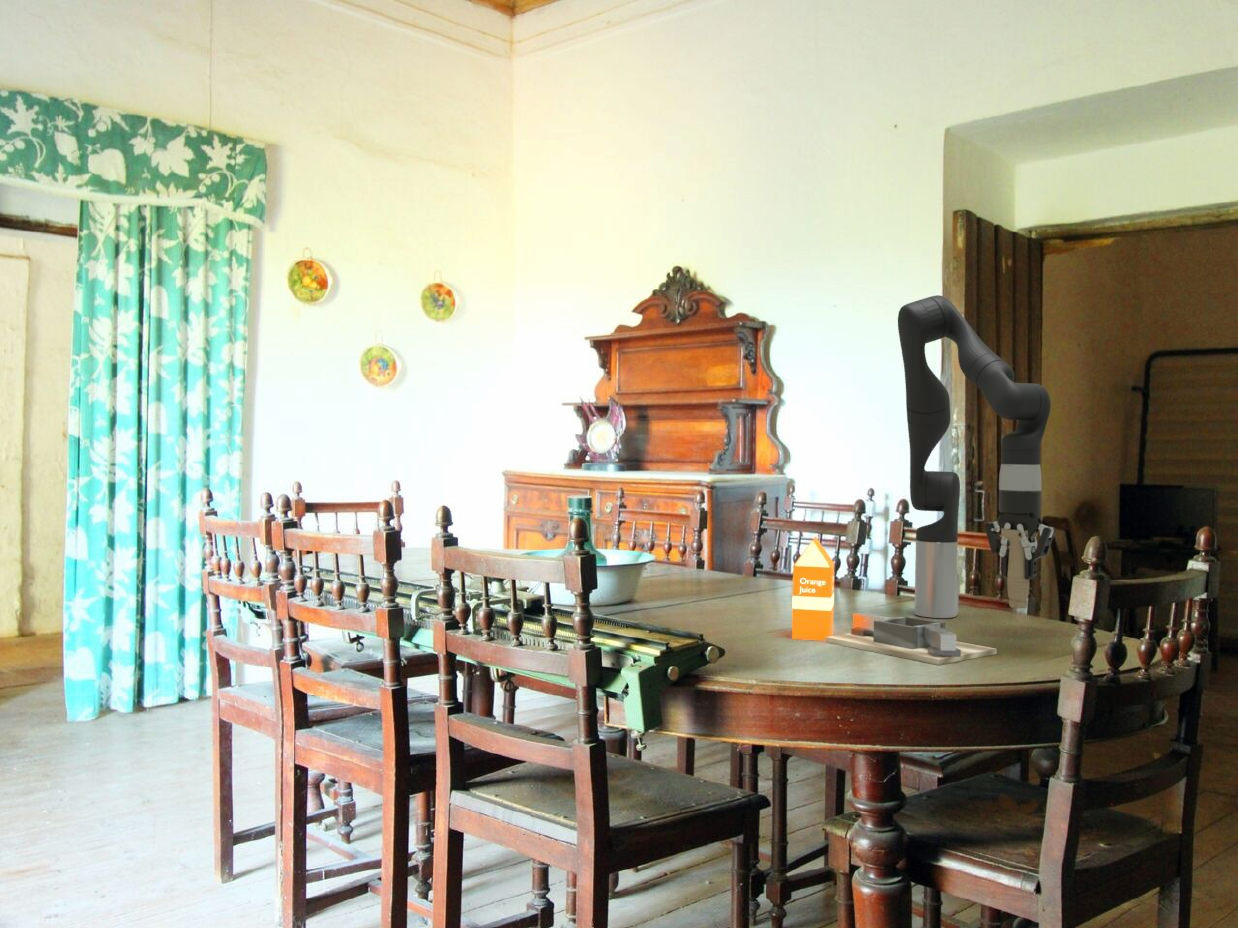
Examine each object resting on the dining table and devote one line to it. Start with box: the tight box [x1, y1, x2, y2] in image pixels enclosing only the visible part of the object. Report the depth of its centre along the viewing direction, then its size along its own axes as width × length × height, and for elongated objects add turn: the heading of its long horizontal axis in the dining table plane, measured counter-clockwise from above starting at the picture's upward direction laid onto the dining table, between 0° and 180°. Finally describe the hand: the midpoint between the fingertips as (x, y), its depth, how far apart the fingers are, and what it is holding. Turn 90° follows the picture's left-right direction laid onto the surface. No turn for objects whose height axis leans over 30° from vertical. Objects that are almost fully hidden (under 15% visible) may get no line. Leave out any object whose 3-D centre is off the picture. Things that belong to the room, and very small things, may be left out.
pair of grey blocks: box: [850, 612, 961, 657], centre depth 196 cm, size 10×26×4 cm, turn 38°
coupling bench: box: [825, 615, 998, 666], centre depth 198 cm, size 18×26×5 cm
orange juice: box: [791, 536, 835, 642], centre depth 209 cm, size 8×9×20 cm
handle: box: [1000, 528, 1038, 610], centre depth 197 cm, size 5×6×15 cm
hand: (1018, 577), depth 197 cm, fingers closed on handle, 4 cm apart
